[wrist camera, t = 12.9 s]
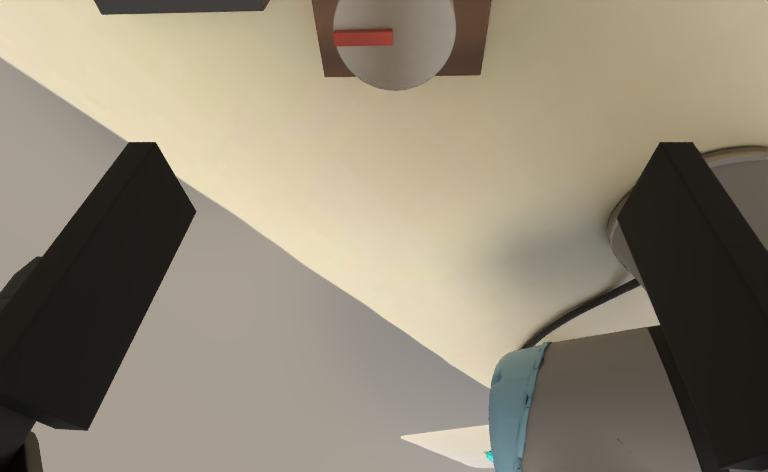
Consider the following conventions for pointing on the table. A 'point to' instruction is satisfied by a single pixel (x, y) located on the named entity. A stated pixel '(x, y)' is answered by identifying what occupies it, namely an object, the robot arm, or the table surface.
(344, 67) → the dial panel
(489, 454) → the handheld game console
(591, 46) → the table surface
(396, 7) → the dial
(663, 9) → the table surface
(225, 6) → the button housing
